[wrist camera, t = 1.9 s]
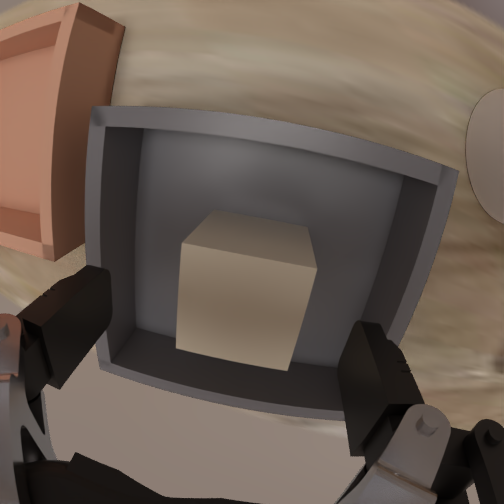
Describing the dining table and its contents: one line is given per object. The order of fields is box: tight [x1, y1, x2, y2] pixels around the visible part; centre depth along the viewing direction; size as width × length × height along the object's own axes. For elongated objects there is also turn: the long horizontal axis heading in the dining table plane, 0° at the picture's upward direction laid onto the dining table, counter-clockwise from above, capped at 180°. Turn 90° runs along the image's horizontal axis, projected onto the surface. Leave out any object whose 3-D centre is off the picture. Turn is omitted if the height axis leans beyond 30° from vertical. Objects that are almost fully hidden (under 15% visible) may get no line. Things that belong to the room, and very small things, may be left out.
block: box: [176, 210, 317, 371], centre depth 13 cm, size 4×4×5 cm
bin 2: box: [85, 106, 459, 421], centre depth 14 cm, size 14×13×4 cm
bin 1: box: [0, 2, 125, 262], centre depth 12 cm, size 14×12×4 cm
